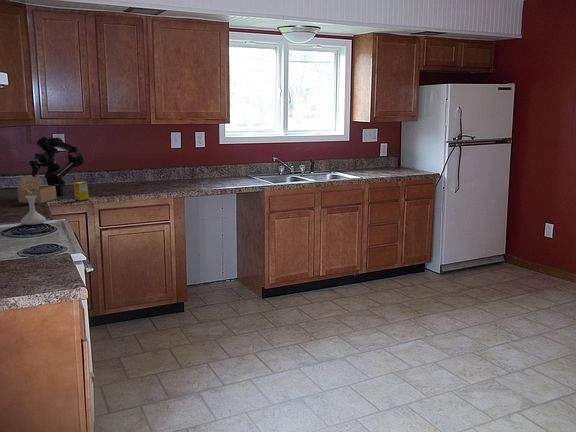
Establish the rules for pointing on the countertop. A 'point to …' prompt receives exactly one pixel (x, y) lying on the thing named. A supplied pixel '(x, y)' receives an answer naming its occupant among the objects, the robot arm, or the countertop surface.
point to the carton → (38, 194)
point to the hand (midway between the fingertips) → (39, 177)
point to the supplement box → (81, 191)
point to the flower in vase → (31, 204)
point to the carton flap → (34, 185)
